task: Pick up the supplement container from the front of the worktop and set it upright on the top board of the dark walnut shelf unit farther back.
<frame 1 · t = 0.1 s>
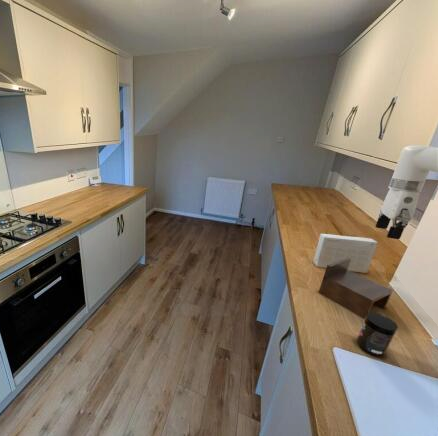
hand: (386, 232, 83), 29 cm above the counter, tool pointing down, fingers open, 9 cm apart
skincare box: (338, 267, 115), on the counter
supplement container: (369, 348, 72), on the counter
shelf: (350, 299, 93), on the counter
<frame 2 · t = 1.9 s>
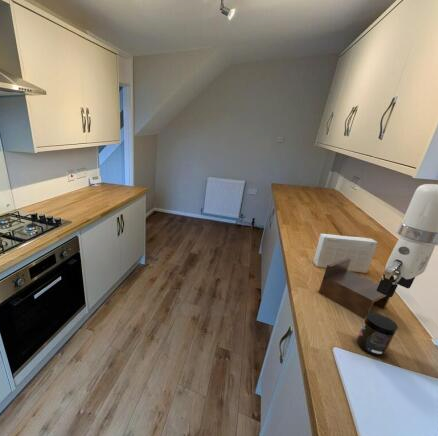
hand: (393, 289, 66), 21 cm above the counter, tool pointing down, fingers open, 9 cm apart
nothing on the counter moved.
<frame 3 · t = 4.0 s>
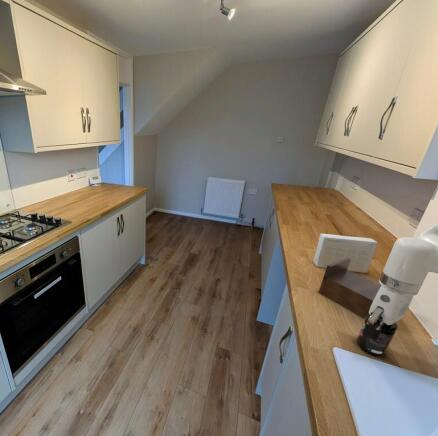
hand: (376, 332, 70), 6 cm above the counter, tool pointing down, fingers closed on supplement container, 6 cm apart
supplement container: (369, 348, 72), on the counter, touching gripper
everything else where it was.
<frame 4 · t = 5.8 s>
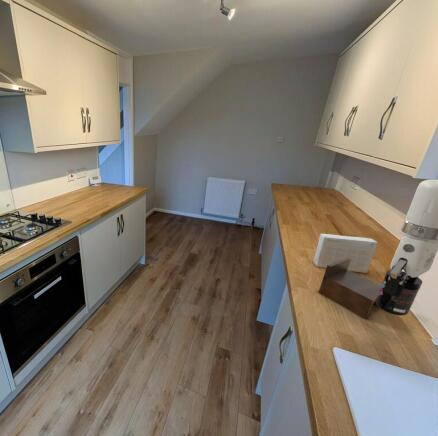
hand: (398, 289, 65), 21 cm above the counter, tool pointing down, fingers closed on supplement container, 6 cm apart
supplement container: (390, 308, 67), point 15 cm above the counter, touching gripper
everything else where it was.
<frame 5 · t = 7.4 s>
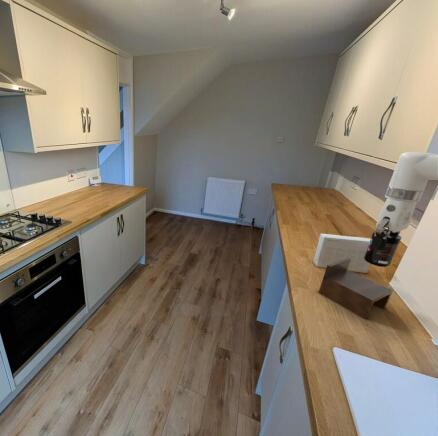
hand: (382, 246, 78), 27 cm above the counter, tool pointing down, fingers closed on supplement container, 6 cm apart
supplement container: (375, 262, 80), point 20 cm above the counter, touching gripper
everything else where it was.
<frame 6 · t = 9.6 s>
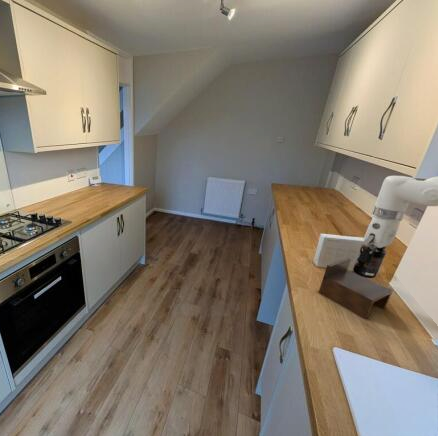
hand: (369, 259, 86), 19 cm above the counter, tool pointing down, fingers closed on supplement container, 6 cm apart
supplement container: (363, 274, 88), point 12 cm above the counter, touching gripper
everything else where it was.
when the fingers open (14 cm above the counter, at t = 11.3 s): supplement container stays where it is, resting on shelf.
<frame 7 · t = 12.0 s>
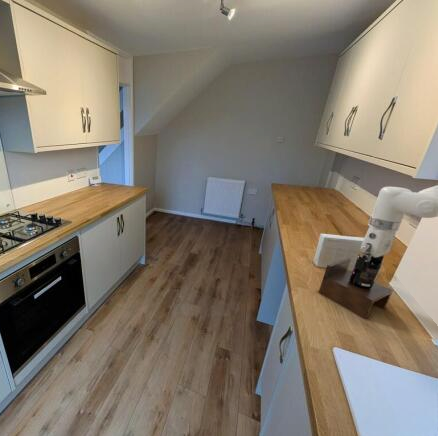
hand: (367, 266, 87), 16 cm above the counter, tool pointing down, fingers open, 9 cm apart
supplement container: (360, 284, 89), point 8 cm above the counter, touching shelf
everything else where it was.
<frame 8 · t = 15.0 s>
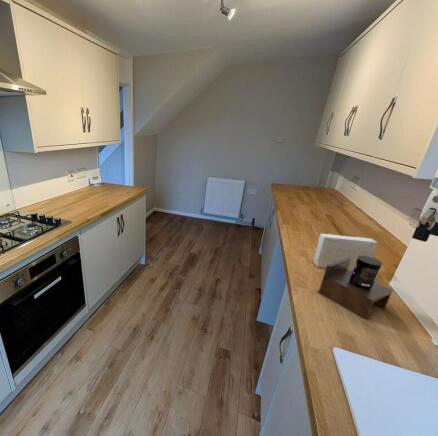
hand: (425, 237, 76), 30 cm above the counter, tool pointing down, fingers open, 9 cm apart
nothing on the counter moved.
at the end: supplement container inside the target area on the shelf (1.0 cm from its centre), point 7.8 cm above the shelf's base; supplement container tilted 0°; the gripper is holding nothing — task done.
